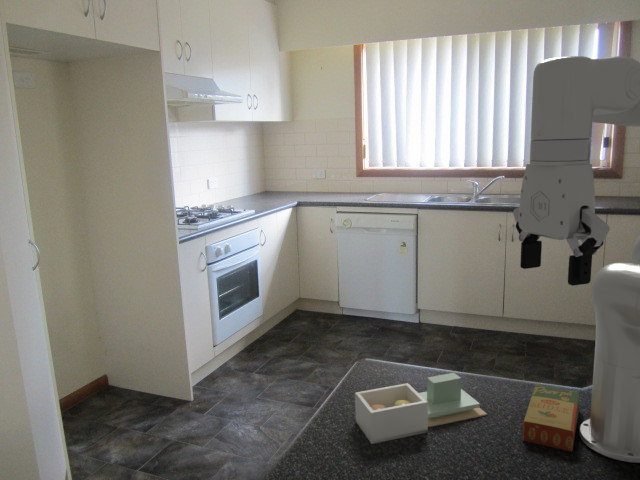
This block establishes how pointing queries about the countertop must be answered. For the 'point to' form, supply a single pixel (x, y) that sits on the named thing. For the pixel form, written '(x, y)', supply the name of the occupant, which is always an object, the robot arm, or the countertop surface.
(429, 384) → the lid
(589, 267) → the robot arm
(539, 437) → the carton
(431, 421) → the mat
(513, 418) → the countertop surface
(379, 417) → the tub
